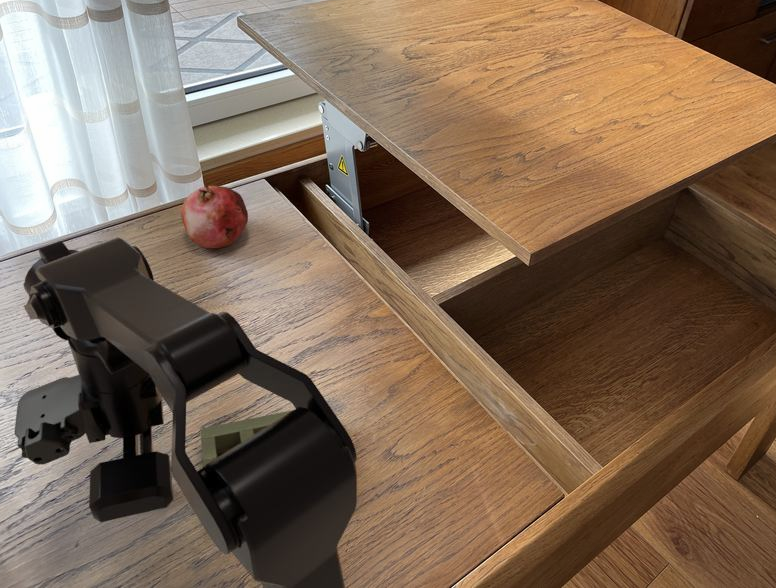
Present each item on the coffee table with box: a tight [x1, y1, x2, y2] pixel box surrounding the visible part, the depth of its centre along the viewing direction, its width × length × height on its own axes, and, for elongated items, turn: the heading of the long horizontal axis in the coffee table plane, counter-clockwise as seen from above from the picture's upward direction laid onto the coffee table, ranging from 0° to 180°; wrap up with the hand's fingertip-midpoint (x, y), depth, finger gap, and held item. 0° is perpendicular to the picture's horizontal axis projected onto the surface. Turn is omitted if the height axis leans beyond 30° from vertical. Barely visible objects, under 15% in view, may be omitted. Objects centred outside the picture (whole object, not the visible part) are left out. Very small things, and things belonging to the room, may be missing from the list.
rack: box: [199, 409, 294, 467], centre depth 77 cm, size 9×13×4 cm
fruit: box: [180, 183, 249, 249], centre depth 102 cm, size 9×10×10 cm
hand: (144, 466), depth 71 cm, fingers open, 9 cm apart
